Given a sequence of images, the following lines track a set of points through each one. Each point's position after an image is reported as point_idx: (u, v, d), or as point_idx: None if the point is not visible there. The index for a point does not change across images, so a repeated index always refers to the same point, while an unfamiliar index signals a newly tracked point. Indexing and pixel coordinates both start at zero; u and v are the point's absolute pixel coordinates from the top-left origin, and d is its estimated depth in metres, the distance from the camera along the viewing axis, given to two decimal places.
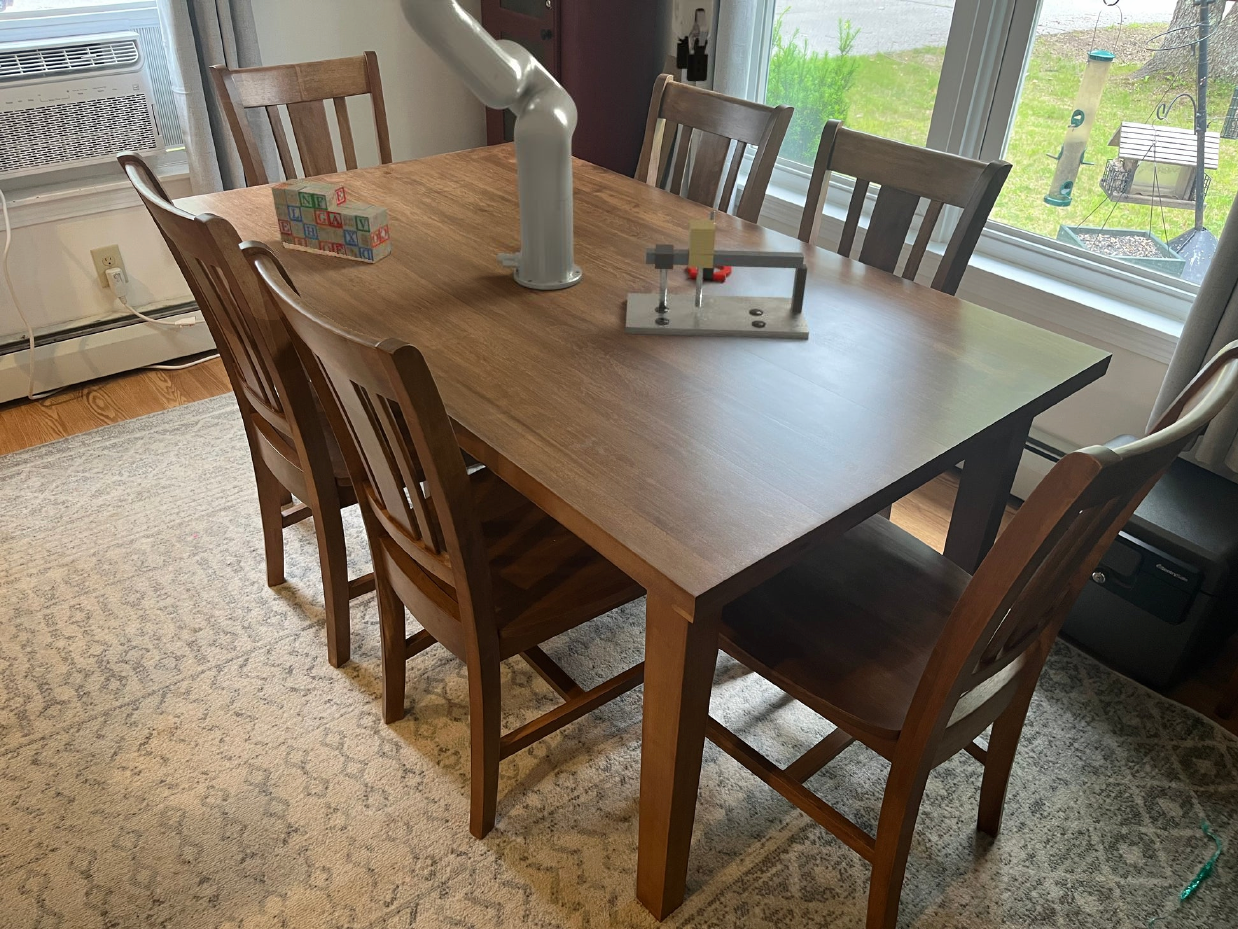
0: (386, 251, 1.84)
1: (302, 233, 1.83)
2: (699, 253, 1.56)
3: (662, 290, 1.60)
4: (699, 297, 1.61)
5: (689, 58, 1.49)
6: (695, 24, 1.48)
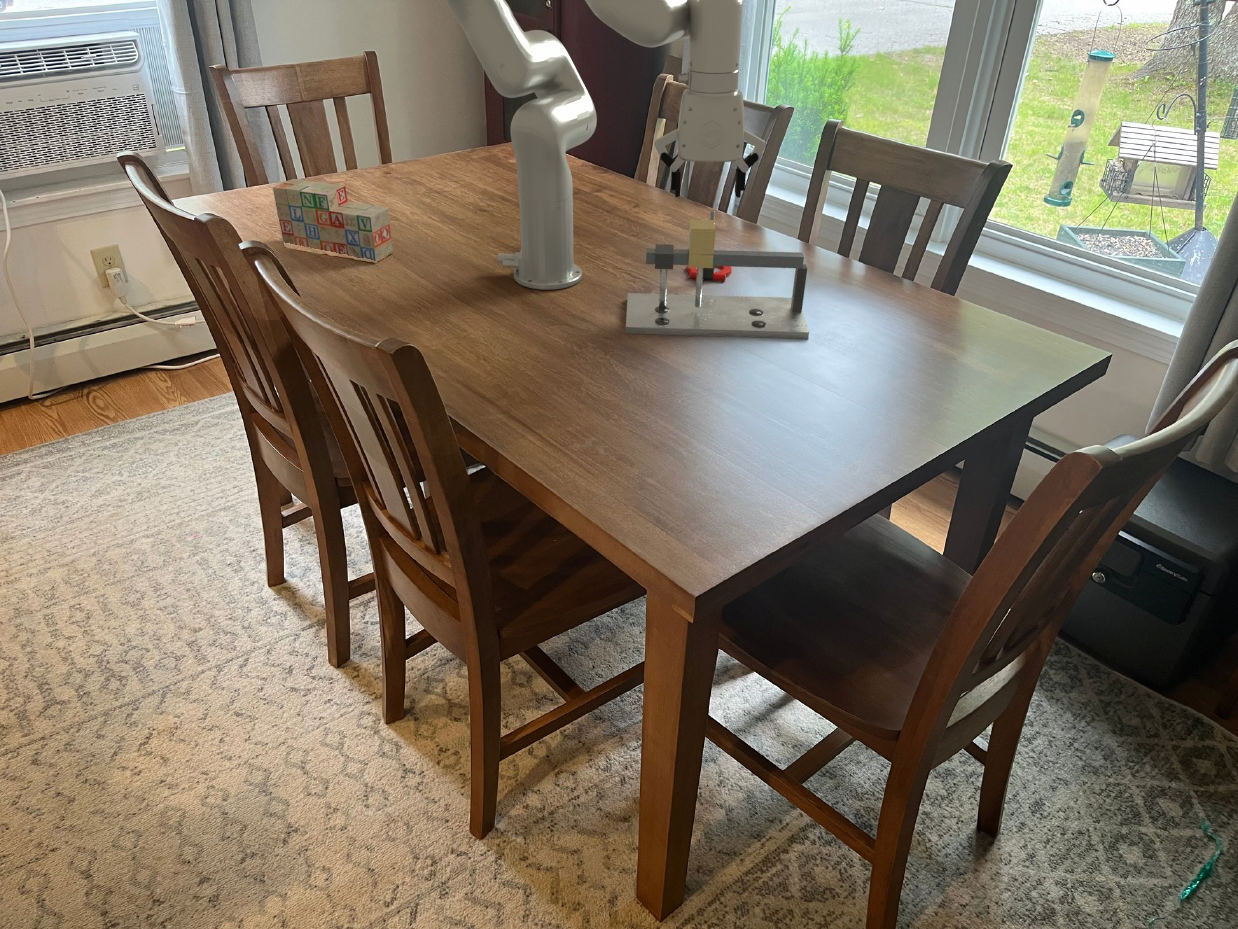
0: (387, 251, 1.84)
1: (303, 233, 1.83)
2: (699, 253, 1.56)
3: (662, 290, 1.60)
4: (699, 297, 1.61)
5: (741, 176, 1.50)
6: None
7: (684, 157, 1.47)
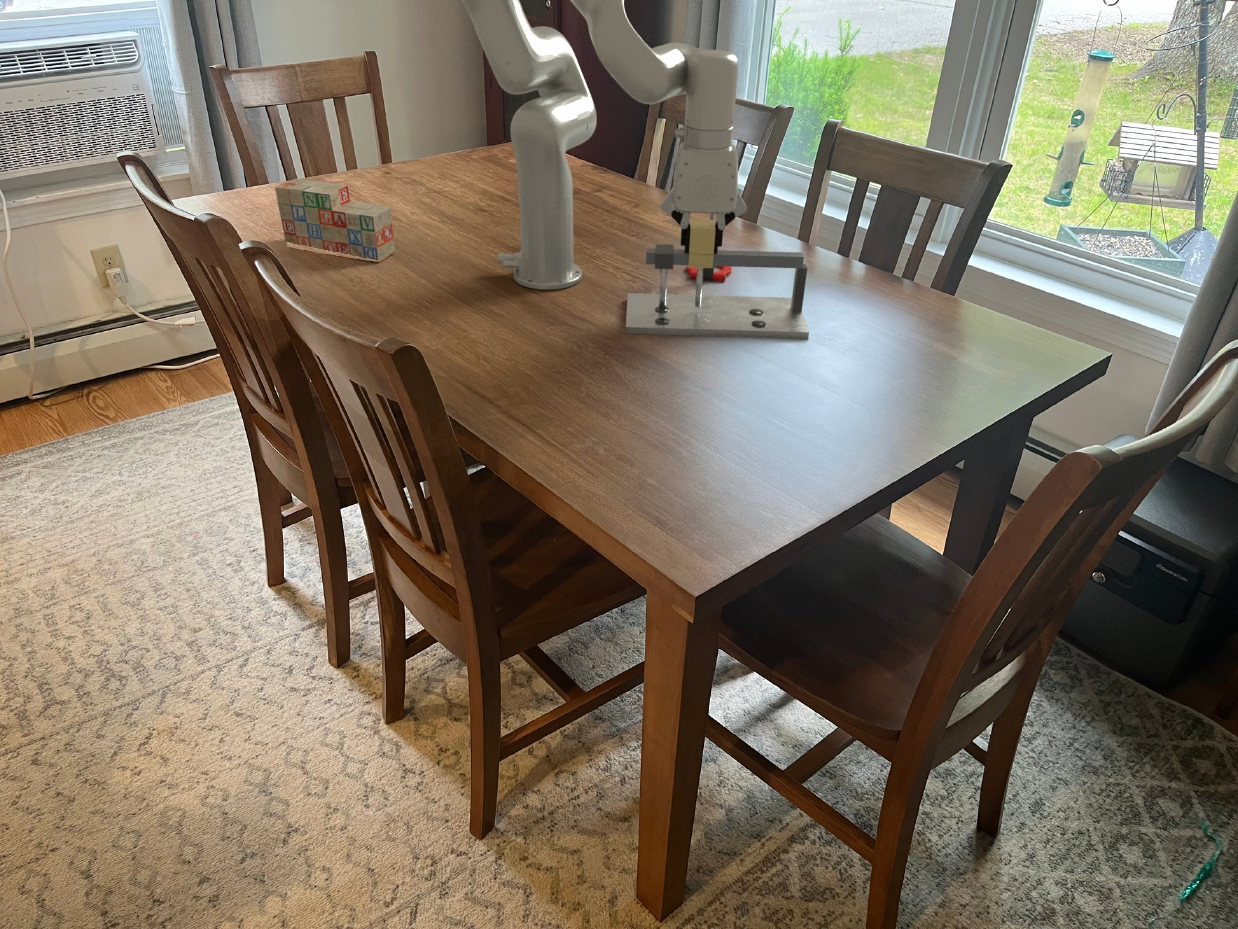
0: (390, 251, 1.84)
1: (306, 233, 1.84)
2: (699, 253, 1.56)
3: (662, 290, 1.60)
4: (699, 297, 1.61)
5: (718, 233, 1.55)
6: None
7: (679, 208, 1.52)
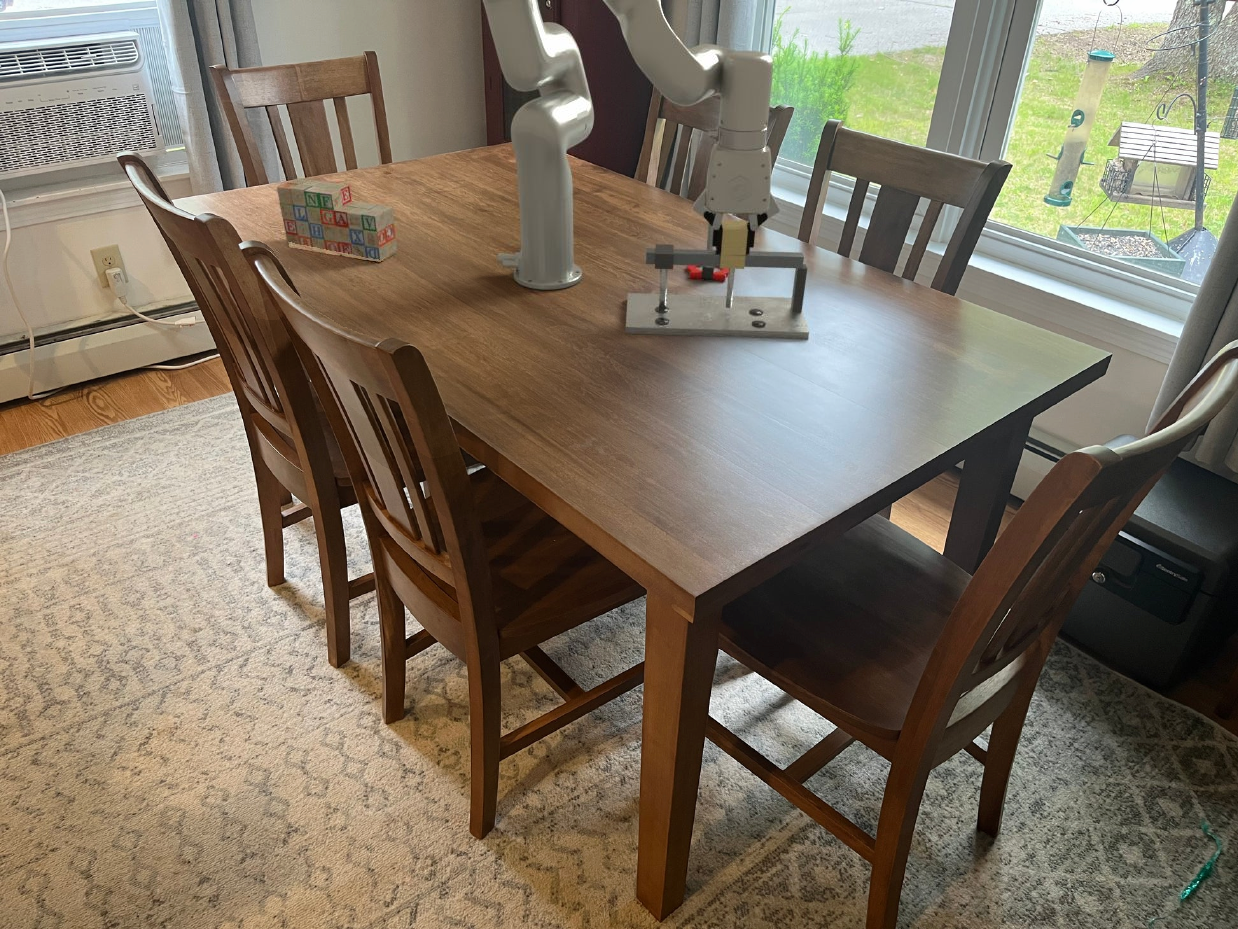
0: (392, 250, 1.84)
1: (307, 233, 1.84)
2: (731, 254, 1.56)
3: (662, 290, 1.60)
4: (730, 298, 1.60)
5: (751, 234, 1.55)
6: None
7: (712, 209, 1.52)
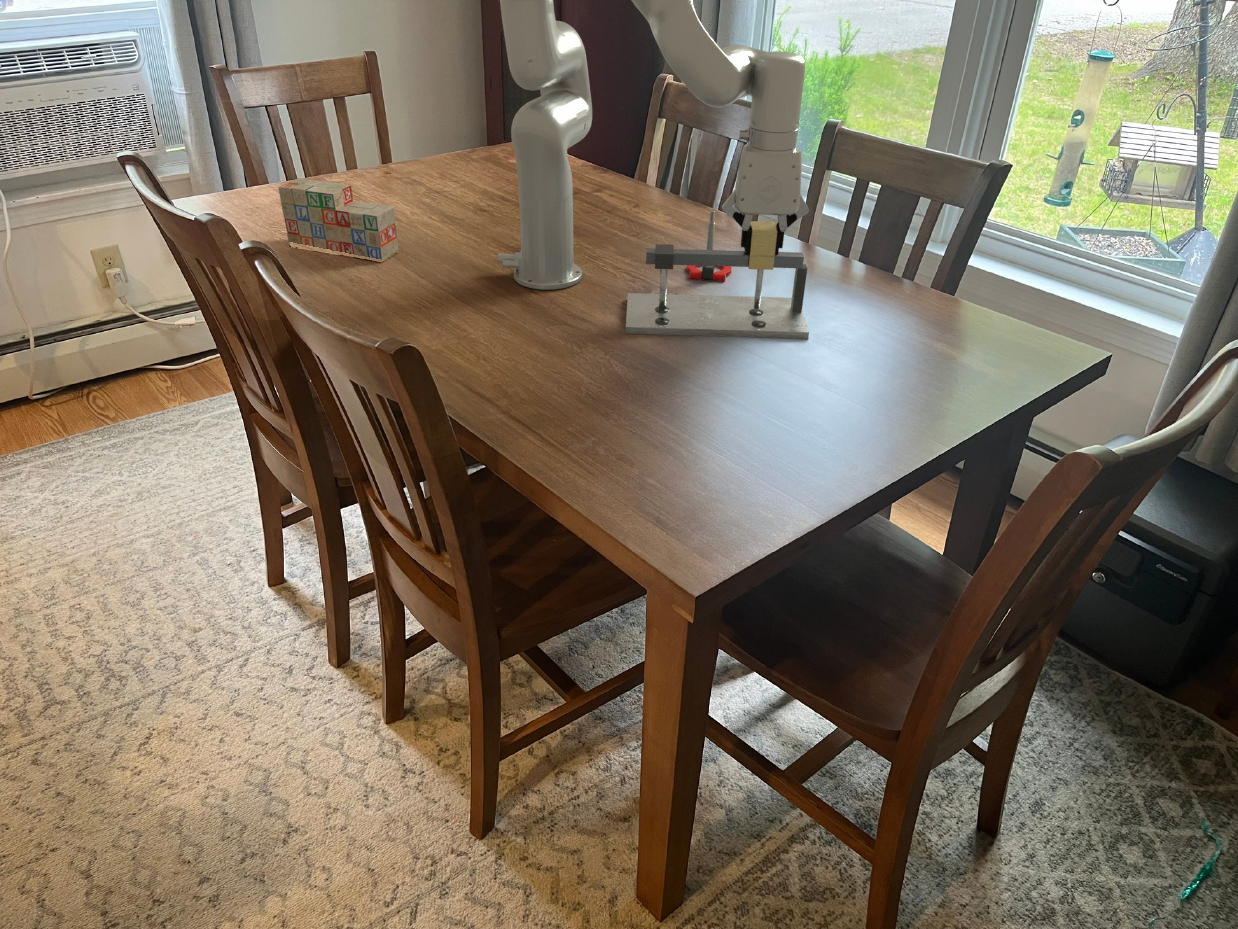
0: (393, 250, 1.84)
1: (309, 232, 1.84)
2: (760, 255, 1.56)
3: (662, 290, 1.60)
4: (758, 299, 1.60)
5: (780, 235, 1.55)
6: None
7: (742, 210, 1.52)
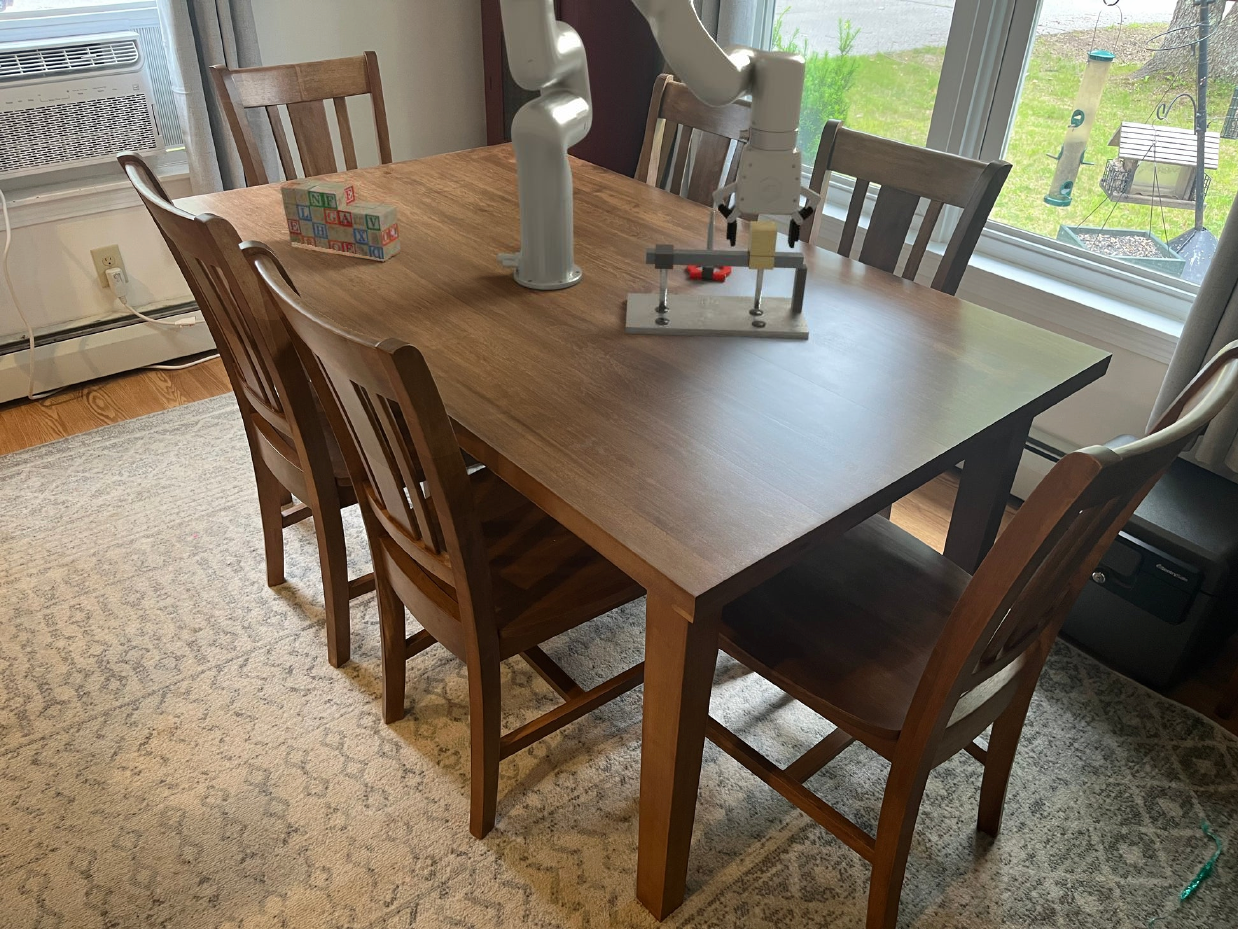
0: (395, 250, 1.84)
1: (311, 232, 1.84)
2: (760, 255, 1.56)
3: (662, 290, 1.60)
4: (758, 299, 1.60)
5: None
6: None
7: (742, 210, 1.52)
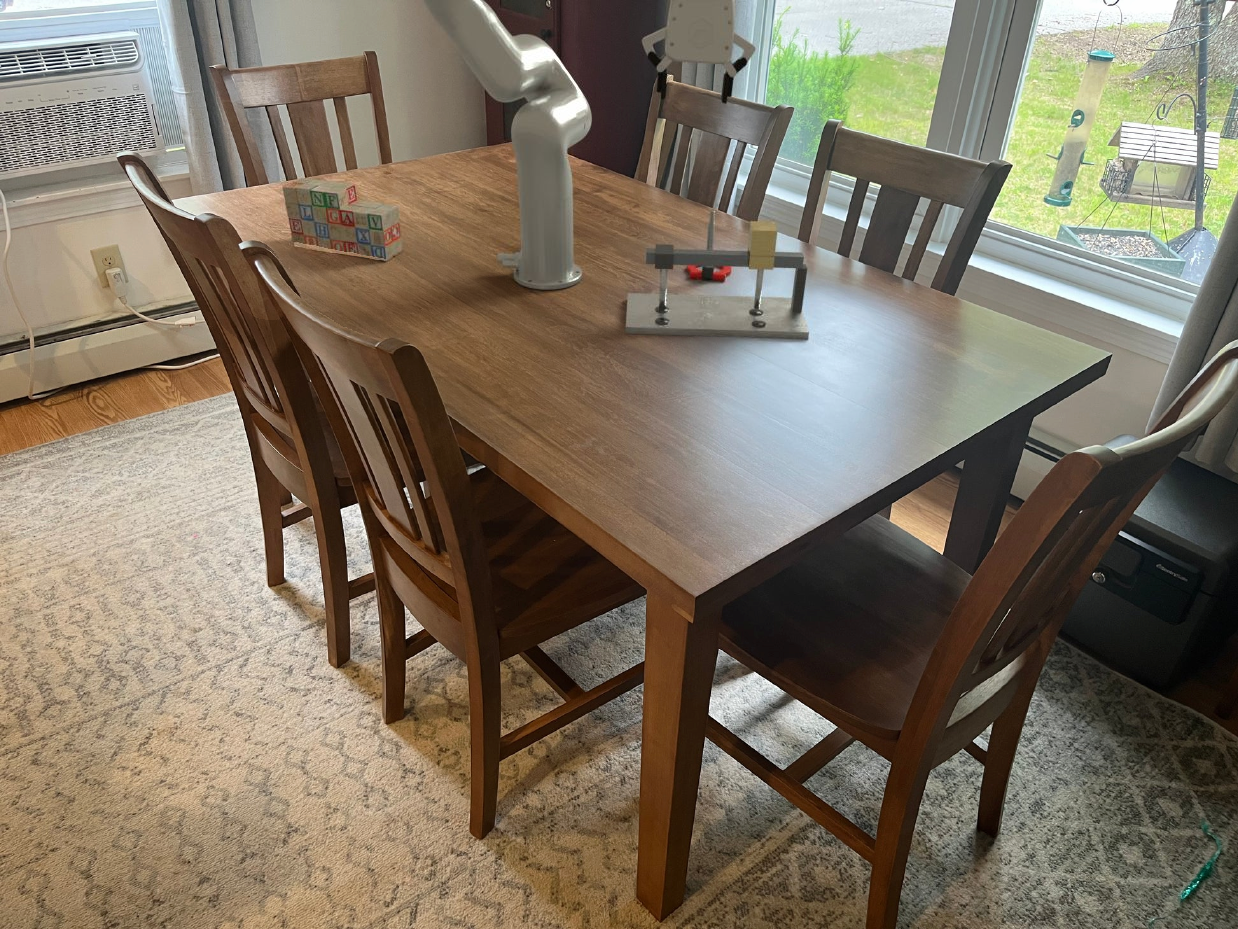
0: (397, 249, 1.84)
1: (313, 232, 1.84)
2: (760, 255, 1.56)
3: (662, 290, 1.60)
4: (758, 299, 1.60)
5: (729, 80, 1.47)
6: None
7: (672, 56, 1.44)
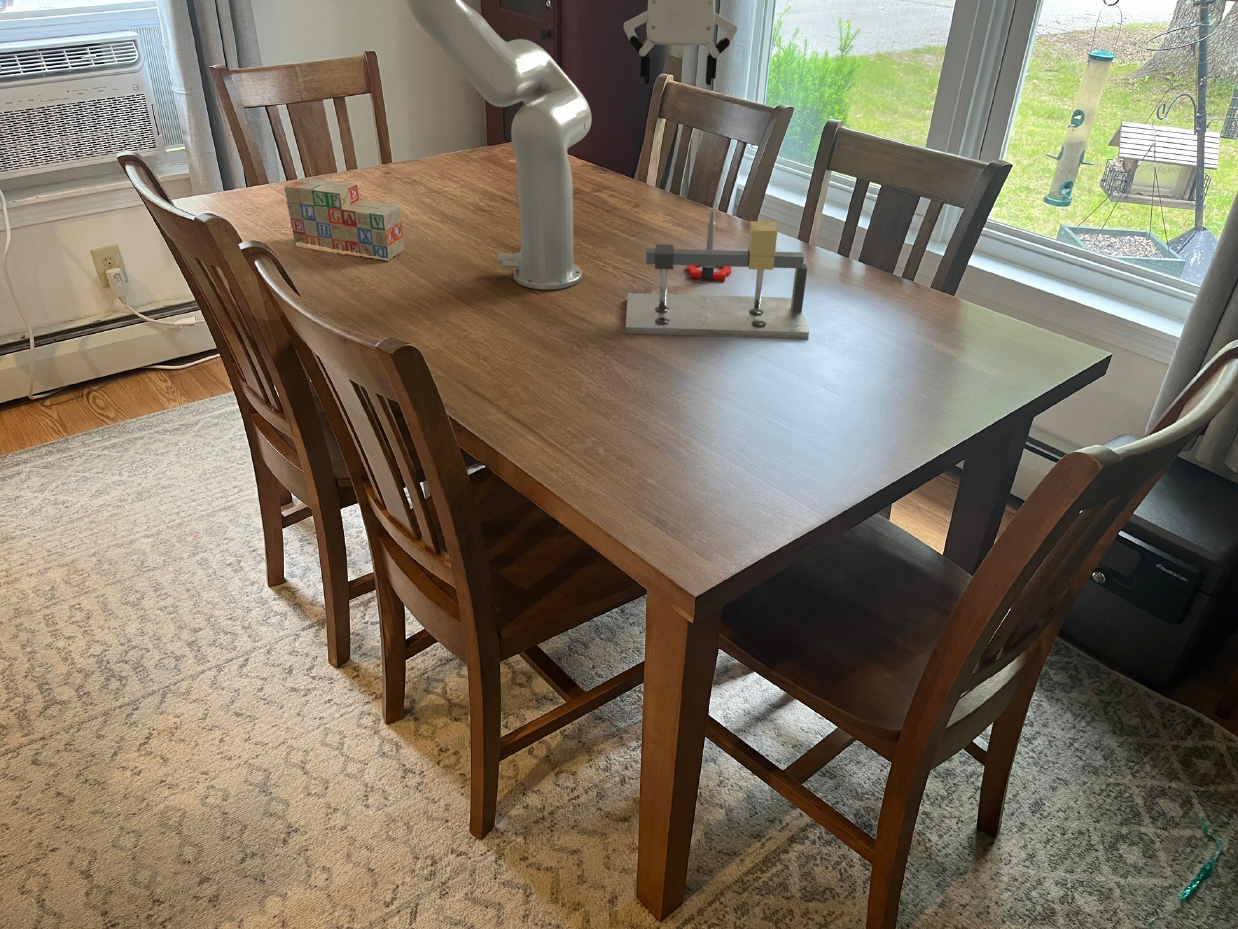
0: (399, 249, 1.85)
1: (315, 232, 1.84)
2: (760, 255, 1.56)
3: (662, 290, 1.60)
4: (758, 299, 1.60)
5: (712, 62, 1.47)
6: None
7: (653, 39, 1.44)
